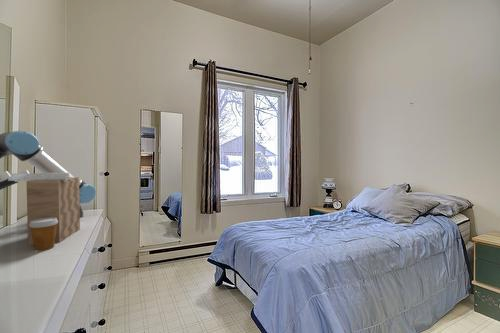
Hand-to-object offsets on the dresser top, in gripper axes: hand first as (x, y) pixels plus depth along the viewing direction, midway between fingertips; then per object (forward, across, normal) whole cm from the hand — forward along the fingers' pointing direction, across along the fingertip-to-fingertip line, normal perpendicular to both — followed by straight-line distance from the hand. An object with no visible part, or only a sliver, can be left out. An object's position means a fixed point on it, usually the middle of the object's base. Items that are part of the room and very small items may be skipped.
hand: (19, 172), depth 111 cm
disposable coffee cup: (-3, +12, -35) cm, 37 cm away
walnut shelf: (-6, -6, -33) cm, 34 cm away
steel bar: (+5, 0, -7) cm, 8 cm away
